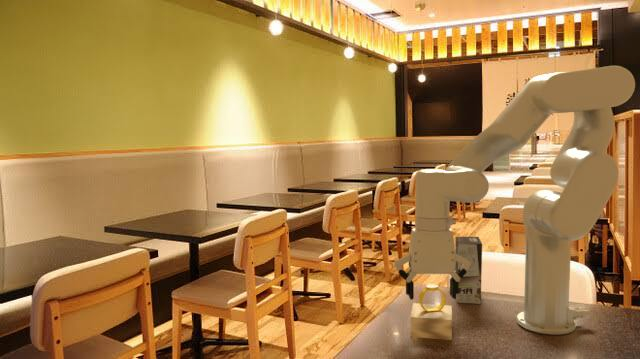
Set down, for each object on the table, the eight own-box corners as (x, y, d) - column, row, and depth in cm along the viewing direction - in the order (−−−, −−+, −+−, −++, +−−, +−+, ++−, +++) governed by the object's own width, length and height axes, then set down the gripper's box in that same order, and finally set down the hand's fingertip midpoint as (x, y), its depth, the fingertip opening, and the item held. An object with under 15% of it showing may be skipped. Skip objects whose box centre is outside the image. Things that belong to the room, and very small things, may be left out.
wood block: (451, 325, 123) (451, 305, 122) (451, 341, 114) (452, 319, 114) (413, 323, 125) (413, 303, 125) (410, 338, 116) (410, 317, 116)
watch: (422, 315, 118) (420, 289, 117) (418, 310, 120) (416, 286, 120) (447, 311, 118) (446, 286, 118) (443, 307, 121) (441, 282, 120)
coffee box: (481, 304, 135) (482, 243, 134) (456, 303, 137) (457, 243, 135) (478, 292, 144) (479, 236, 142) (454, 291, 146) (455, 235, 144)
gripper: (466, 220, 121) (465, 291, 123) (391, 221, 121) (392, 292, 123) (475, 226, 113) (474, 302, 115) (396, 228, 113) (396, 303, 115)
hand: (431, 297), depth 119 cm, fingers open, 9 cm apart
